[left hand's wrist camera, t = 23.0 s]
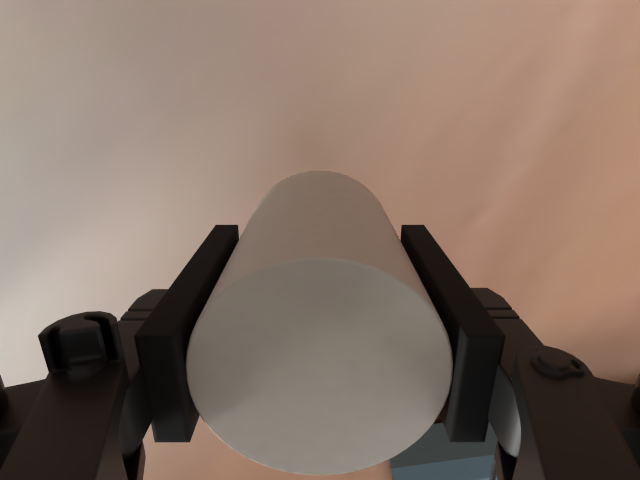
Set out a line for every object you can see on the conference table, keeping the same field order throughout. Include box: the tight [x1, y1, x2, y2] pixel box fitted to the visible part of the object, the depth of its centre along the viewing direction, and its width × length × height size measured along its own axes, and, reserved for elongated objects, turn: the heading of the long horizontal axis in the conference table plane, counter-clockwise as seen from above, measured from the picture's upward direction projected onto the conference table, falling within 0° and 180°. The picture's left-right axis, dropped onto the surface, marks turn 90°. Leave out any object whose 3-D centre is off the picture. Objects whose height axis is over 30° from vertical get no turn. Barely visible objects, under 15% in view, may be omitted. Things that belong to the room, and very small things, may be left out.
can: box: [186, 171, 453, 475], centre depth 12 cm, size 6×6×8 cm
